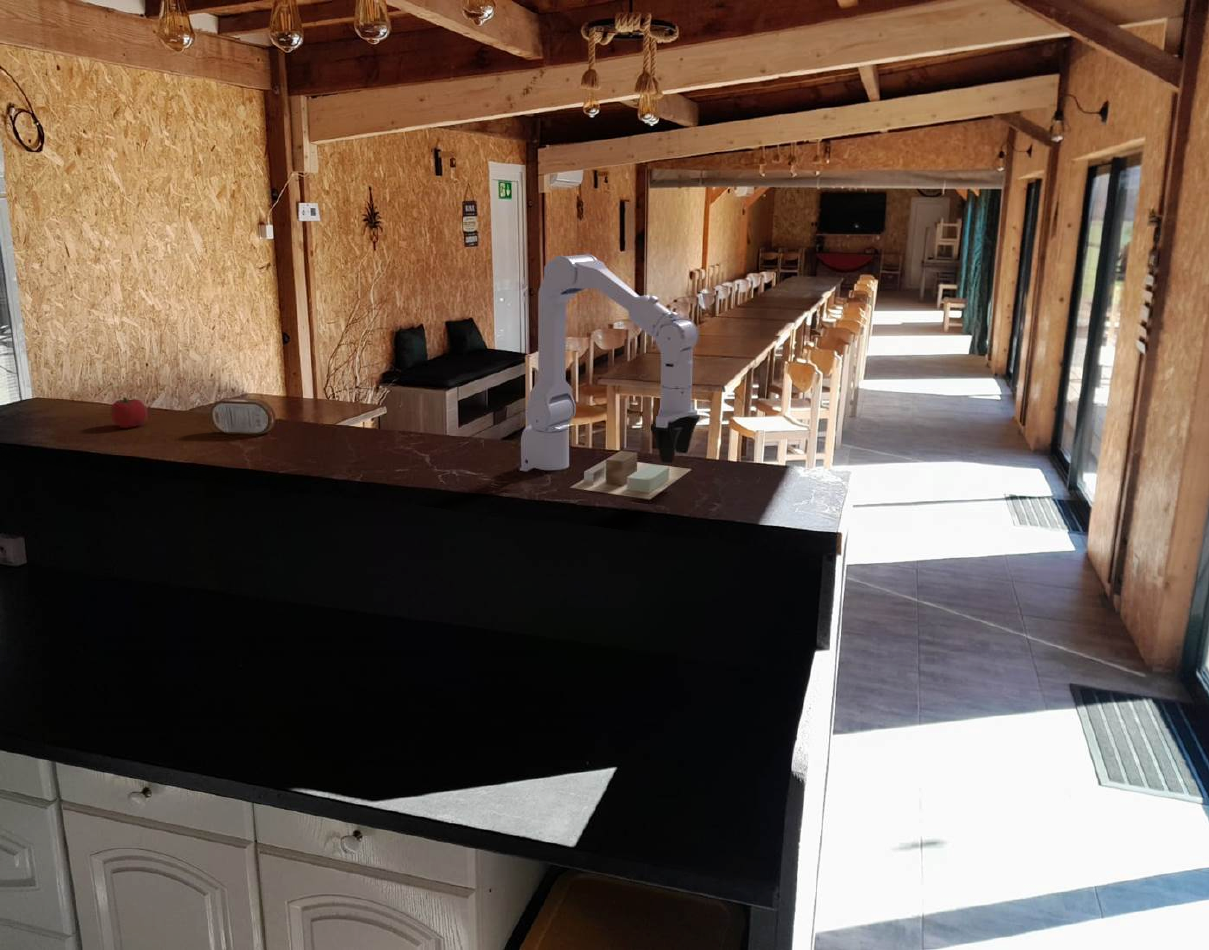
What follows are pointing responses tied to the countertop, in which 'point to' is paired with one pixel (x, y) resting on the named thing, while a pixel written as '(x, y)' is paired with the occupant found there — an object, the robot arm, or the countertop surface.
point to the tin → (242, 416)
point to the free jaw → (647, 478)
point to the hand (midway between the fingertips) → (674, 457)
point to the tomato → (128, 413)
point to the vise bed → (603, 487)
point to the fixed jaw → (595, 474)
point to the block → (620, 468)
